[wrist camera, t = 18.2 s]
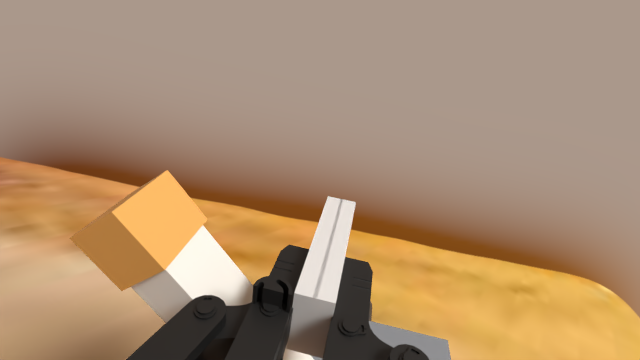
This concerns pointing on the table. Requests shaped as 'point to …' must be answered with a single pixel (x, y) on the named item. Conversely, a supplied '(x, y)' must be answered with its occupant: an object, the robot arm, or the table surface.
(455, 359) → the table surface
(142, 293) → the breaker lever
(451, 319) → the table surface
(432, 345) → the grey power plug
